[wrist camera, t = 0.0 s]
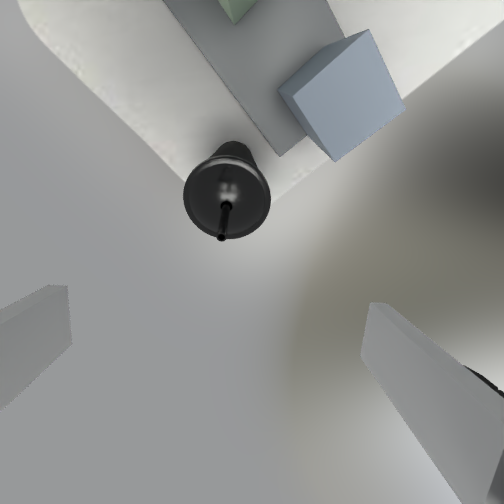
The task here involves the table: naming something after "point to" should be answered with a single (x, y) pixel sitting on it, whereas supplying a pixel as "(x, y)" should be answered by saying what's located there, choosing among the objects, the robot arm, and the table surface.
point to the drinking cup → (227, 193)
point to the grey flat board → (261, 54)
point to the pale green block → (236, 8)
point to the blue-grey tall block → (343, 94)
